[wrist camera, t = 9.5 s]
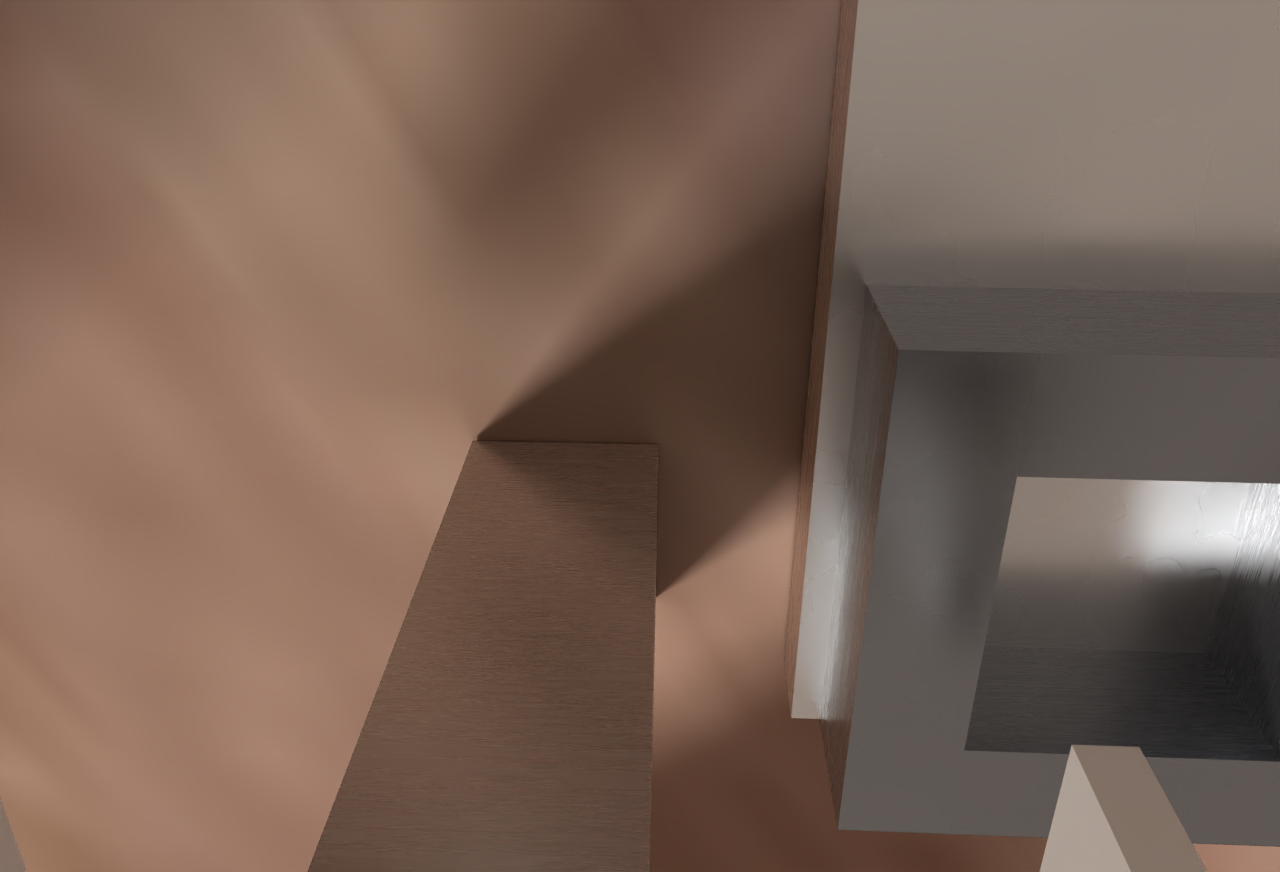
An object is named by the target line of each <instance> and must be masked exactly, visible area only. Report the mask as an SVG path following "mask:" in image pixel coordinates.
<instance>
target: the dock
mask: <svg viewBox="0 0 1280 872" xmlns="http://www.w3.org/2000/svg"><path fill="white" fill-rule="evenodd" d="M784 666H785V674H786V682H787V689H788V697H789V705H790V713H791V718H806V719H820V725H821V731H822V737H823V743H824V749H825V755H826V761H827V767H828V774H829V780H830V786H831V792H832V798H833V804H834V810H835V816H836V822H837V828H838V830H858V831H884V832H910V833H936V834H962V835H988V836H1014V837H1040V838H1048V837H1049V833H1050V829H1051V825H1052V821H1053V817H1054V813H1055V809H1056V805H1057V801H1058V797H1059V793H1060V789H1061V785H1062V781H1063V777H1064V773H1065V769H1066V765H1067V761H1068V758H1069V754H1070V750H1071V746H1072V745H1096V746H1124V747H1140V749H1141V751H1142V753H1143V755H1144V756H1145V758H1146V760H1147V762H1148V764H1149V766H1150V767H1151V769H1152V771H1153V773H1154V775H1155V776H1156V778H1157V780H1158V782H1159V784H1160V786H1161V787H1162V789H1163V791H1164V793H1165V795H1166V797H1167V798H1168V800H1169V802H1170V804H1171V806H1172V808H1173V809H1174V811H1175V813H1176V815H1177V817H1178V818H1179V820H1180V822H1181V824H1182V826H1183V828H1184V829H1185V831H1186V833H1187V835H1188V837H1189V839H1190V840H1191V842H1192V843H1196V844H1223V845H1249V846H1275V847H1280V0H842V5H841V16H840V28H839V39H838V51H837V62H836V74H835V85H834V97H833V108H832V120H831V131H830V143H829V154H828V166H827V177H826V189H825V200H824V212H823V223H822V235H821V246H820V258H819V269H818V281H817V292H816V304H815V315H814V327H813V338H812V350H811V361H810V373H809V384H808V396H807V407H806V419H805V430H804V442H803V453H802V465H801V476H800V488H799V499H798V511H797V522H796V534H795V545H794V557H793V568H792V580H791V591H790V603H789V614H788V626H787V637H786V649H785V660H784Z"/></svg>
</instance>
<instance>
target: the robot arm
mask: <svg viewBox="0 0 1280 872" xmlns="http://www.w3.org/2000/svg"><path fill="white" fill-rule="evenodd" d="M25 870H26V868H25V865H24V862H23V859H22V857H21V854H20V851H19V848H18V846H17V843H16V840H15V837H14V835H13V832H12V829H11V826H10V824H9V821H8V818H7V815H6V812H5V810H4V807H3V804H2V801H1V799H0V872H25ZM1040 872H1208V871H1207V870H1206V868H1205V866H1204V864H1203V862H1202V861H1201V859H1200V857H1199V855H1198V853H1197V851H1196V850H1195V848H1194V846H1193V844H1192V842H1191V840H1190V839H1189V837H1188V835H1187V833H1186V831H1185V829H1184V828H1183V826H1182V824H1181V822H1180V820H1179V818H1178V817H1177V815H1176V813H1175V811H1174V809H1173V808H1172V806H1171V804H1170V802H1169V800H1168V798H1167V797H1166V795H1165V793H1164V791H1163V789H1162V787H1161V786H1160V784H1159V782H1158V780H1157V778H1156V776H1155V775H1154V773H1153V771H1152V769H1151V767H1150V766H1149V764H1148V762H1147V760H1146V758H1145V756H1144V755H1143V753H1142V751H1141V749H1140V747H1124V746H1096V745H1072V746H1071V750H1070V754H1069V758H1068V761H1067V765H1066V769H1065V773H1064V777H1063V781H1062V785H1061V789H1060V793H1059V797H1058V801H1057V805H1056V809H1055V813H1054V817H1053V821H1052V825H1051V829H1050V833H1049V837H1048V841H1047V844H1046V848H1045V852H1044V856H1043V860H1042V864H1041V868H1040Z"/></svg>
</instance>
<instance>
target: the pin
mask: <svg viewBox="0 0 1280 872" xmlns="http://www.w3.org/2000/svg"><path fill="white" fill-rule="evenodd" d="M658 448H659V444H608V443H557V442H505V441H472V444H471V447H470V449H469V452H468V455H467V457H466V460H465V462H464V465H463V468H462V470H461V473H460V475H459V478H458V481H457V483H456V486H455V488H454V491H453V494H452V496H451V499H450V501H449V504H448V507H447V509H446V512H445V514H444V517H443V520H442V522H441V525H440V528H439V530H438V533H437V535H436V538H435V541H434V543H433V546H432V548H431V551H430V554H429V556H428V559H427V561H426V564H425V567H424V569H423V572H422V574H421V577H420V580H419V582H418V585H417V587H416V590H415V593H414V595H413V598H412V600H411V603H410V606H409V608H408V611H407V614H406V616H405V619H404V621H403V624H402V627H401V629H400V632H399V634H398V637H397V640H396V642H395V645H394V647H393V650H392V653H391V655H390V658H389V660H388V663H387V666H386V668H385V671H384V673H383V676H382V679H381V681H380V684H379V687H378V689H377V692H376V694H375V697H374V700H373V702H372V705H371V707H370V710H369V713H368V715H367V718H366V720H365V723H364V726H363V728H362V731H361V733H360V736H359V739H358V741H357V744H356V746H355V749H354V752H353V754H352V757H351V760H350V762H349V765H348V767H347V770H346V773H345V775H344V778H343V780H342V783H341V786H340V788H339V791H338V793H337V796H336V799H335V801H334V804H333V806H332V809H331V812H330V814H329V817H328V819H327V822H326V825H325V827H324V830H323V832H322V835H321V838H320V840H319V843H318V846H317V848H316V851H315V853H314V856H313V859H312V861H311V864H310V866H309V869H308V872H650V837H651V791H652V746H653V700H654V655H655V610H656V557H657V503H658Z"/></svg>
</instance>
